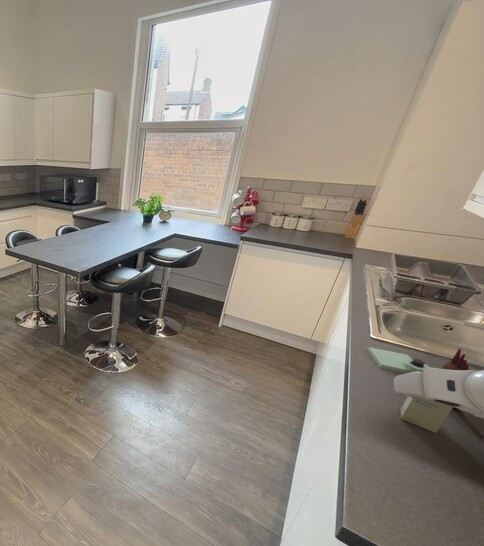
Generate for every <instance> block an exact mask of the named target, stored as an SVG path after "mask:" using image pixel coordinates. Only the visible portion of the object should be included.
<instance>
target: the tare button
mask: <svg viewBox="0 0 484 546" xmlns="http://www.w3.org/2000/svg"><path fill="white" fill-rule="evenodd" d="M412 360H413V361H412V362H411V364H412V365H414V366H416V367H420V368H423V366H424V364H426V363H425V361H423V360H421V359H418V358H412Z"/></svg>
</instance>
